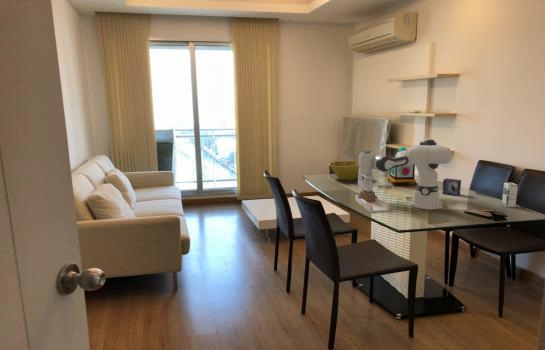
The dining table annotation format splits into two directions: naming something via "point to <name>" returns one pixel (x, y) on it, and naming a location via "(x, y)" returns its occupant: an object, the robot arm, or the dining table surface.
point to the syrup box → (509, 194)
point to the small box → (451, 187)
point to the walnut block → (368, 196)
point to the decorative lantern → (402, 172)
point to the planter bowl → (345, 169)
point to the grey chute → (373, 204)
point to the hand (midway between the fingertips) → (364, 195)
